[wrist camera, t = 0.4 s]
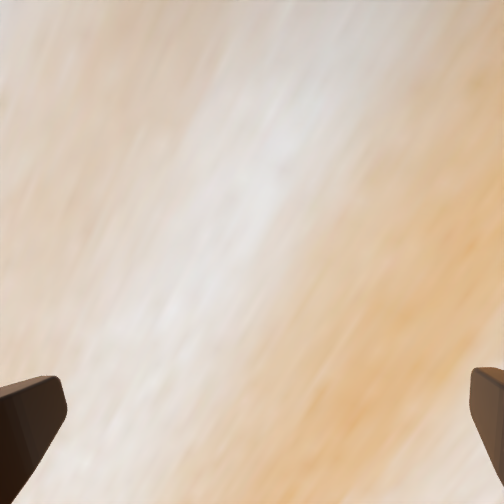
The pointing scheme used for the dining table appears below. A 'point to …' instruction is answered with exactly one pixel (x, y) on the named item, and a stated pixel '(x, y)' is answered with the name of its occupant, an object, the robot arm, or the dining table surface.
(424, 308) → the dining table surface
